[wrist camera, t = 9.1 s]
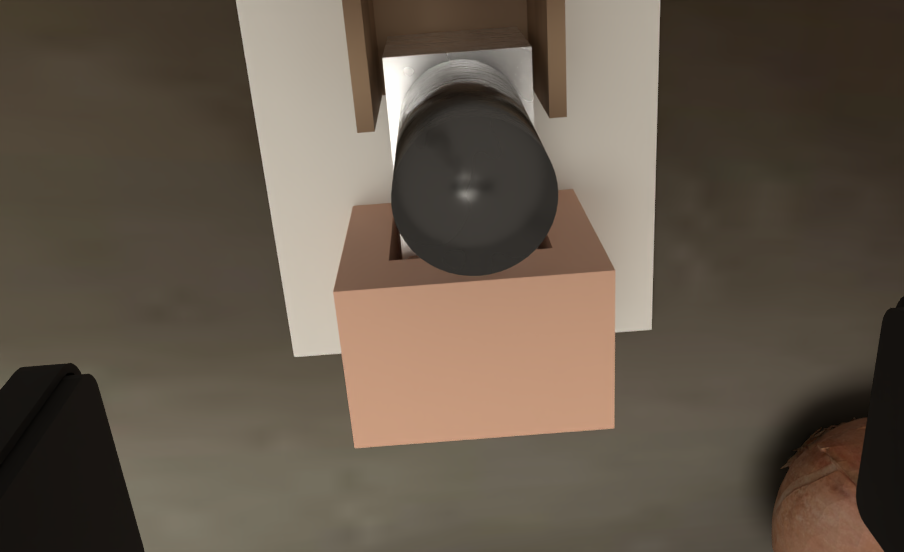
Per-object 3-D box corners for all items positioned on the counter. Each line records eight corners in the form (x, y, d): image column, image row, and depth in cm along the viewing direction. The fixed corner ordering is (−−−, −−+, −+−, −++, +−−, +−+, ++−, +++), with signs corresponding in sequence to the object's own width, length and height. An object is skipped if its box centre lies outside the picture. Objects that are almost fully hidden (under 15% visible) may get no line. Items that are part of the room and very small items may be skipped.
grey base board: (205, -228, 26) (197, -233, 25) (658, -262, 26) (667, -269, 25) (297, 345, 34) (294, 356, 34) (645, 318, 34) (651, 329, 34)
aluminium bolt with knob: (388, 36, 28) (366, 114, 18) (516, 26, 28) (571, 99, 18) (414, 312, 32) (410, 506, 22) (527, 303, 32) (576, 494, 22)
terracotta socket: (353, 205, 31) (333, 291, 24) (573, 188, 31) (615, 270, 24) (368, 335, 33) (354, 448, 26) (574, 319, 33) (614, 428, 26)
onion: (895, 429, 41) (1114, 588, 33) (749, 564, 40) (937, 755, 33) (860, 322, 34) (1121, 487, 27) (688, 480, 34) (903, 692, 27)
